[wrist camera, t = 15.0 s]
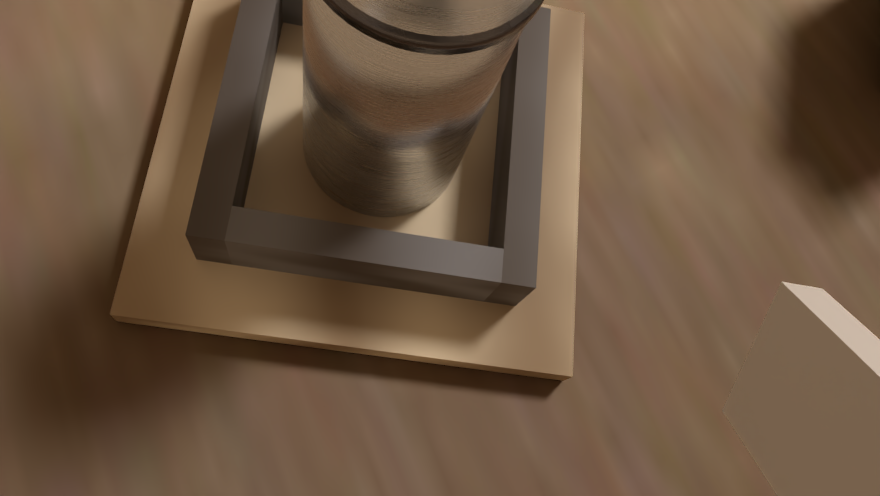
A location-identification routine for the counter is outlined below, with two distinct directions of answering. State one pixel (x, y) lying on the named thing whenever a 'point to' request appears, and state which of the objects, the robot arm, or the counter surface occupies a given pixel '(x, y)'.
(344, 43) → the steel piston
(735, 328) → the counter surface
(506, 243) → the collar plate
